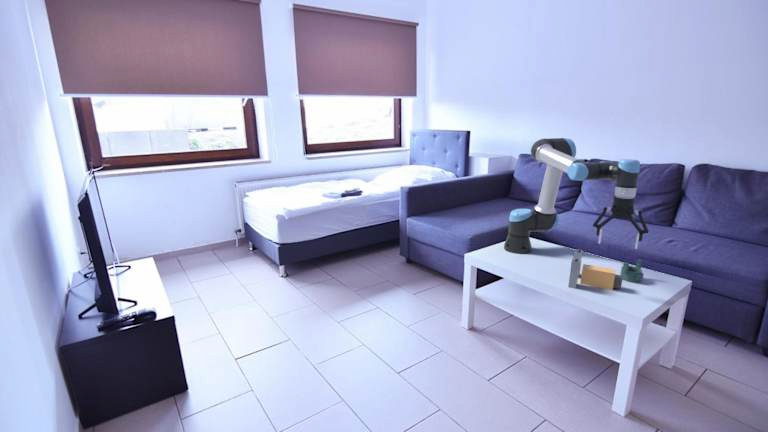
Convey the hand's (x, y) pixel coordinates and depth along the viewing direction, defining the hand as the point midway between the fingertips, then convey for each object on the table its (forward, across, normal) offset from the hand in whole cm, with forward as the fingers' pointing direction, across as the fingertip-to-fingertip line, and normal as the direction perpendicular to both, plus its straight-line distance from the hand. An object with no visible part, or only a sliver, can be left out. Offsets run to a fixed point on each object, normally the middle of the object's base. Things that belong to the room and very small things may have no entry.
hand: (617, 245), depth 166 cm
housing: (+21, -15, +4) cm, 26 cm away
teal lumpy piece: (+22, +7, +20) cm, 30 cm away
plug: (+21, -4, +5) cm, 22 cm away
